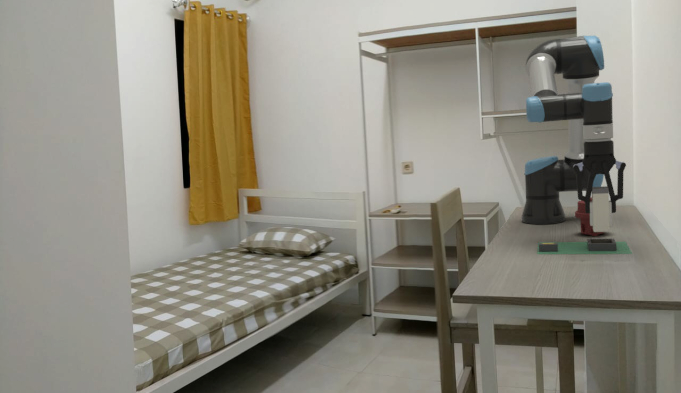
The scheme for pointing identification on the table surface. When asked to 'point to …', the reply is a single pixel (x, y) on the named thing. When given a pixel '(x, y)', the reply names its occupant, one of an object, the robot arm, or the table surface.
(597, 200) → the plug
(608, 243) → the board
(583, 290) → the table surface
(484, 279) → the table surface
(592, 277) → the table surface
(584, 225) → the mechanical component
